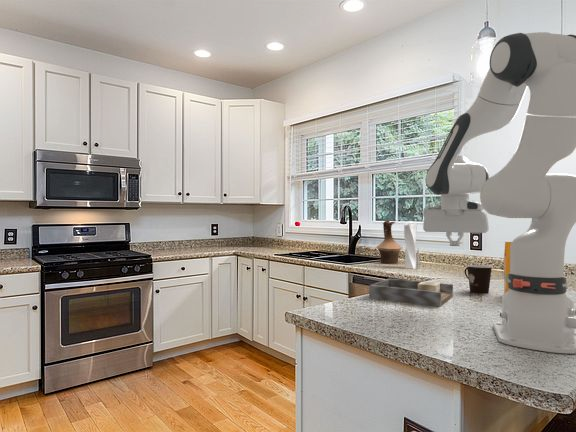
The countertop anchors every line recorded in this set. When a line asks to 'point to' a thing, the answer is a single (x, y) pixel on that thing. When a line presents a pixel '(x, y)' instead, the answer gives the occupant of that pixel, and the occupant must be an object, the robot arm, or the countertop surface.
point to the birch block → (429, 286)
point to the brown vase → (389, 246)
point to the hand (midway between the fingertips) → (454, 246)
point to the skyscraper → (411, 246)
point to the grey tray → (410, 292)
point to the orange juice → (506, 265)
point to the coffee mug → (479, 278)
